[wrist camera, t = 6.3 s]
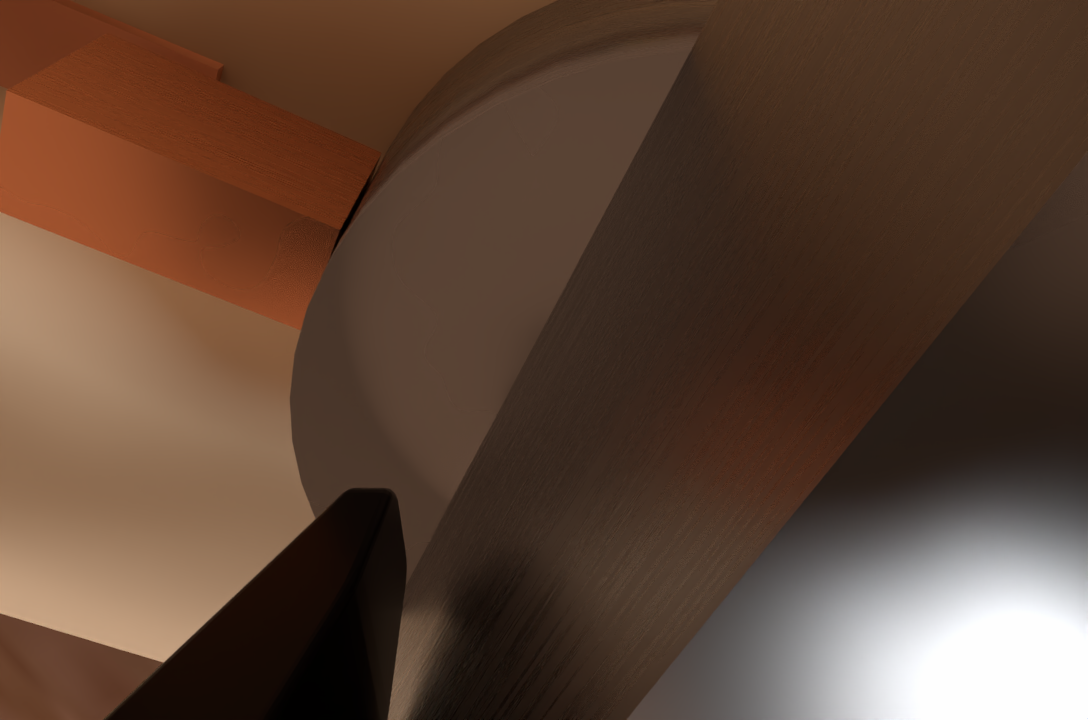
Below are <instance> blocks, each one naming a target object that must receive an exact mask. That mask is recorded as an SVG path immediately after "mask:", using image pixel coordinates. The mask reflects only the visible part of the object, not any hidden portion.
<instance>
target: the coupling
mask: <svg viewBox="0 0 1088 720" xmlns="http://www.w3.org/2000/svg"><path fill="white" fill-rule="evenodd" d="M381 154H382V152H380V151H377V150H375V149H373V148H371V147H368V146H366V145H364V144H361V143H359V142H357V141H355V140H352V139H350V138H348V137H345V136H343V135H341V134H339V133H336V132H334V131H332V130H329V129H327V128H325V127H323V126H320V125H318V124H316V123H313V122H311V121H309V120H307V119H304V118H302V117H300V116H297V115H295V114H293V113H291V112H288V111H286V110H284V109H282V108H279V107H277V106H275V105H272V104H270V103H268V102H266V101H263V100H261V99H259V98H256V97H254V96H252V95H250V94H247V93H245V92H243V91H240V90H238V89H236V88H234V87H231V86H229V85H227V84H224V83H222V82H220V81H218V80H215V79H213V78H211V77H208V76H206V75H204V74H202V73H199V72H197V71H195V70H192V69H190V68H188V67H186V66H183V65H181V64H179V63H177V62H174V61H172V60H170V59H167V58H165V57H163V56H161V55H158V54H156V53H154V52H151V51H149V50H147V49H145V48H142V47H140V46H138V45H135V44H133V43H131V42H129V41H126V40H124V39H122V38H119V37H117V36H115V35H113V34H110V33H107V34H105V35H103V36H102V37H100V38H98V39H96V40H94V41H93V42H91V43H89V44H87V45H86V46H84V47H82V48H80V49H79V50H77V51H75V52H73V53H72V54H70V55H68V56H66V57H64V58H63V59H61V60H59V61H57V62H56V63H54V64H52V65H50V66H49V67H47V68H45V69H43V70H42V71H40V72H38V73H36V74H34V75H33V76H31V77H29V78H27V79H26V80H24V81H22V82H20V83H19V84H17V85H15V86H13V87H12V88H10V89H8V90H6V97H5V104H4V111H3V119H2V126H1V133H0V212H1V213H4V214H6V215H9V216H11V217H14V218H16V219H19V220H22V221H24V222H27V223H29V224H32V225H34V226H37V227H39V228H42V229H44V230H47V231H49V232H52V233H55V234H57V235H60V236H62V237H65V238H67V239H70V240H72V241H75V242H77V243H80V244H82V245H85V246H88V247H90V248H93V249H95V250H98V251H100V252H103V253H105V254H108V255H110V256H113V257H115V258H118V259H121V260H123V261H126V262H128V263H131V264H133V265H136V266H138V267H141V268H143V269H146V270H148V271H151V272H154V273H156V274H159V275H161V276H164V277H166V278H169V279H171V280H174V281H176V282H179V283H181V284H184V285H186V286H189V287H192V288H194V289H197V290H199V291H202V292H204V293H207V294H209V295H212V296H214V297H217V298H219V299H222V300H225V301H227V302H230V303H232V304H235V305H237V306H240V307H242V308H245V309H247V310H250V311H252V312H255V313H258V314H260V315H263V316H265V317H268V318H270V319H273V320H275V321H278V322H280V323H283V324H285V325H288V326H291V327H293V328H296V329H298V330H301V332H300V335H299V339H298V343H297V346H296V350H295V354H294V363H293V372H292V382H291V391H290V412H291V429H292V443H293V447H294V452H295V456H296V461H297V465H298V470H299V475H300V479H301V483H302V486H303V488H304V491H305V493H306V496H307V499H308V501H309V504H310V506H311V509H312V512H313V514H314V517H315V519H316V518H317V517H318V516H319V515H320V514H321V513H322V512H323V511H324V510H325V509H326V508H327V507H329V506H330V505H331V504H332V503H333V502H334V501H335V500H336V499H337V498H338V497H339V496H340V495H341V494H342V493H344V492H345V491H347V490H349V489H351V488H389V489H391V490H392V491H394V492H395V494H396V496H397V499H398V503H399V510H400V517H401V523H402V530H403V537H404V543H405V550H406V558H407V576H406V586H405V594H404V601H403V609H402V616H401V624H400V631H399V639H398V647H397V654H396V662H395V669H394V677H393V684H392V692H391V699H390V707H389V714H388V720H1088V0H557V1H555V2H553V3H551V4H549V5H546V6H544V7H542V8H540V9H538V10H536V11H533V12H531V13H529V14H527V15H525V16H523V17H521V18H519V19H518V20H516V21H514V22H513V23H511V24H510V25H508V26H507V27H505V28H504V29H502V30H500V31H499V32H497V33H496V34H494V35H493V36H491V37H489V38H488V39H486V40H485V41H483V42H482V43H480V44H479V45H478V46H477V47H476V48H474V49H473V50H472V51H471V52H470V53H468V54H467V55H466V56H465V57H464V58H463V59H461V60H460V61H459V62H458V63H457V64H456V65H454V66H453V67H452V68H451V69H450V70H449V71H447V72H446V73H445V74H444V75H443V76H442V77H441V79H440V80H439V81H438V82H437V83H436V84H435V85H434V87H433V88H432V89H431V90H430V91H429V92H428V93H427V94H426V96H425V97H424V98H423V99H422V100H421V101H420V102H419V104H418V105H417V106H416V107H415V108H414V110H413V111H412V113H411V114H410V116H409V117H408V119H407V120H406V122H405V123H404V125H403V126H402V128H401V130H400V131H399V133H398V134H397V136H396V137H395V139H394V140H393V142H392V143H391V145H390V147H389V149H388V151H387V152H386V154H385V156H384V158H383V160H382V162H381V164H380V166H379V168H378V169H377V171H376V173H375V175H374V172H375V170H376V167H377V164H378V162H379V159H380V156H381ZM373 175H374V177H373ZM372 178H373V179H372ZM371 180H372V181H371Z"/></svg>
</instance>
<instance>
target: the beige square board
mask: <svg viewBox="0 0 1088 720" xmlns="http://www.w3.org/2000/svg"><path fill="white" fill-rule="evenodd" d="M555 1H557V0H0V133H1V126H2V119H3V111H4V104H5V97H6V90H8V89H10V88H12V87H13V86H15V85H17V84H19V83H20V82H22V81H24V80H26V79H27V78H29V77H31V76H33V75H34V74H36V73H38V72H40V71H42V70H43V69H45V68H47V67H49V66H50V65H52V64H54V63H56V62H57V61H59V60H61V59H63V58H64V57H66V56H68V55H70V54H72V53H73V52H75V51H77V50H79V49H80V48H82V47H84V46H86V45H87V44H89V43H91V42H93V41H94V40H96V39H98V38H100V37H102V36H103V35H105V34H107V33H110V34H113V35H115V36H117V37H119V38H122V39H124V40H126V41H129V42H131V43H133V44H135V45H138V46H140V47H142V48H145V49H147V50H149V51H151V52H154V53H156V54H158V55H161V56H163V57H165V58H167V59H170V60H172V61H174V62H177V63H179V64H181V65H183V66H186V67H188V68H190V69H192V70H195V71H197V72H199V73H202V74H204V75H206V76H208V77H211V78H213V79H215V80H218V81H220V82H222V83H224V84H227V85H229V86H231V87H234V88H236V89H238V90H240V91H243V92H245V93H247V94H250V95H252V96H254V97H256V98H259V99H261V100H263V101H266V102H268V103H270V104H272V105H275V106H277V107H279V108H282V109H284V110H286V111H288V112H291V113H293V114H295V115H297V116H300V117H302V118H304V119H307V120H309V121H311V122H313V123H316V124H318V125H320V126H323V127H325V128H327V129H329V130H332V131H334V132H336V133H339V134H341V135H343V136H345V137H348V138H350V139H352V140H355V141H357V142H359V143H361V144H364V145H366V146H368V147H371V148H373V149H375V150H377V151H380V152H382V154H381V156H380V159H379V162H378V164H377V167H376V170H375V172H374V175H375V173H376V171H377V169H378V168H379V166H380V164H381V162H382V160H383V158H384V156H385V154H386V152H387V151H388V149H389V147H390V145H391V143H392V142H393V140H394V139H395V137H396V136H397V134H398V133H399V131H400V130H401V128H402V126H403V125H404V123H405V122H406V120H407V119H408V117H409V116H410V114H411V113H412V111H413V110H414V108H415V107H416V106H417V105H418V104H419V102H420V101H421V100H422V99H423V98H424V97H425V96H426V94H427V93H428V92H429V91H430V90H431V89H432V88H433V87H434V85H435V84H436V83H437V82H438V81H439V80H440V79H441V77H442V76H443V75H444V74H445V73H446V72H447V71H449V70H450V69H451V68H452V67H453V66H454V65H456V64H457V63H458V62H459V61H460V60H461V59H463V58H464V57H465V56H466V55H467V54H468V53H470V52H471V51H472V50H473V49H474V48H476V47H477V46H478V45H479V44H480V43H482V42H483V41H485V40H486V39H488V38H489V37H491V36H493V35H494V34H496V33H497V32H499V31H500V30H502V29H504V28H505V27H507V26H508V25H510V24H511V23H513V22H514V21H516V20H518V19H519V18H521V17H523V16H525V15H527V14H529V13H531V12H533V11H536V10H538V9H540V8H542V7H544V6H546V5H549V4H551V3H553V2H555ZM374 175H373V177H374ZM372 179H373V178H372ZM371 181H372V180H371ZM300 332H301V330H298V329H296V328H293V327H291V326H288V325H285V324H283V323H280V322H278V321H275V320H273V319H270V318H268V317H265V316H263V315H260V314H258V313H255V312H252V311H250V310H247V309H245V308H242V307H240V306H237V305H235V304H232V303H230V302H227V301H225V300H222V299H219V298H217V297H214V296H212V295H209V294H207V293H204V292H202V291H199V290H197V289H194V288H192V287H189V286H186V285H184V284H181V283H179V282H176V281H174V280H171V279H169V278H166V277H164V276H161V275H159V274H156V273H154V272H151V271H148V270H146V269H143V268H141V267H138V266H136V265H133V264H131V263H128V262H126V261H123V260H121V259H118V258H115V257H113V256H110V255H108V254H105V253H103V252H100V251H98V250H95V249H93V248H90V247H88V246H85V245H82V244H80V243H77V242H75V241H72V240H70V239H67V238H65V237H62V236H60V235H57V234H55V233H52V232H49V231H47V230H44V229H42V228H39V227H37V226H34V225H32V224H29V223H27V222H24V221H22V220H19V219H16V218H14V217H11V216H9V215H6V214H4V213H1V212H0V613H1V614H4V615H7V616H11V617H14V618H17V619H21V620H24V621H27V622H31V623H34V624H37V625H41V626H44V627H47V628H51V629H54V630H57V631H61V632H64V633H67V634H70V635H74V636H77V637H80V638H84V639H87V640H90V641H94V642H97V643H100V644H104V645H107V646H110V647H114V648H117V649H120V650H124V651H127V652H130V653H134V654H137V655H140V656H143V657H147V658H150V659H153V660H157V661H160V662H163V663H164V662H165V661H166V660H167V659H168V658H169V657H170V656H171V655H172V654H173V653H174V652H175V651H176V650H177V649H178V648H179V647H180V646H182V645H183V644H184V643H185V642H186V641H187V640H188V639H189V638H190V637H191V636H192V635H193V634H194V633H195V632H196V631H197V630H198V629H200V628H201V627H202V626H203V625H204V624H205V623H206V622H207V621H208V620H209V619H210V618H211V617H212V616H213V615H214V614H215V613H216V612H218V611H219V610H220V609H221V608H222V607H223V606H224V605H225V604H226V603H227V602H228V601H229V600H230V599H231V598H232V597H233V596H234V595H235V594H237V593H238V592H239V591H240V590H241V589H242V588H243V587H244V586H245V585H246V584H247V583H248V582H249V581H250V580H251V579H252V578H253V577H255V576H256V575H257V574H258V573H259V572H260V571H261V570H262V569H263V568H264V567H265V566H266V565H267V564H268V563H269V562H270V561H271V560H273V559H274V558H275V557H276V556H277V555H278V554H279V553H280V552H281V551H282V550H283V549H284V548H285V547H286V546H287V545H288V544H289V543H290V542H292V541H293V540H294V539H295V538H296V537H297V536H298V535H299V534H300V533H301V532H302V531H303V530H304V529H305V528H306V527H307V526H308V525H310V524H311V523H312V522H313V521H314V520H315V517H314V514H313V512H312V509H311V506H310V504H309V501H308V499H307V496H306V493H305V491H304V488H303V486H302V483H301V479H300V475H299V470H298V465H297V461H296V456H295V452H294V447H293V443H292V429H291V412H290V391H291V382H292V372H293V363H294V354H295V350H296V346H297V343H298V339H299V335H300Z"/></svg>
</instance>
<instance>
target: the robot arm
mask: <svg viewBox="0 0 1088 720" xmlns="http://www.w3.org/2000/svg"><path fill="white" fill-rule="evenodd" d="M406 576H407V558H406V550H405V543H404V537H403V530H402V523H401V517H400V510H399V503H398V499H397V496H396V494H395V492H394V491H392V490H391V489H389V488H351V489H349V490H347V491H345V492H344V493H342V494H341V495H340V496H339V497H338V498H337V499H336V500H335V501H334V502H333V503H332V504H331V505H330V506H329V507H327V508H326V509H325V510H324V511H323V512H322V513H321V514H320V515H319V516H318V517H317V518H316V519H315V520H314V521H313V522H312V523H311V524H310V525H308V526H307V527H306V528H305V529H304V530H303V531H302V532H301V533H300V534H299V535H298V536H297V537H296V538H295V539H294V540H293V541H292V542H290V543H289V544H288V545H287V546H286V547H285V548H284V549H283V550H282V551H281V552H280V553H279V554H278V555H277V556H276V557H275V558H274V559H273V560H271V561H270V562H269V563H268V564H267V565H266V566H265V567H264V568H263V569H262V570H261V571H260V572H259V573H258V574H257V575H256V576H255V577H253V578H252V579H251V580H250V581H249V582H248V583H247V584H246V585H245V586H244V587H243V588H242V589H241V590H240V591H239V592H238V593H237V594H235V595H234V596H233V597H232V598H231V599H230V600H229V601H228V602H227V603H226V604H225V605H224V606H223V607H222V608H221V609H220V610H219V611H218V612H216V613H215V614H214V615H213V616H212V617H211V618H210V619H209V620H208V621H207V622H206V623H205V624H204V625H203V626H202V627H201V628H200V629H198V630H197V631H196V632H195V633H194V634H193V635H192V636H191V637H190V638H189V639H188V640H187V641H186V642H185V643H184V644H183V645H182V646H180V647H179V648H178V649H177V650H176V651H175V652H174V653H173V654H172V655H171V656H170V657H169V658H168V659H167V660H166V661H165V662H164V663H163V664H161V665H160V666H159V667H158V668H157V669H156V670H155V671H154V672H153V673H152V674H151V675H150V676H149V677H148V678H147V679H146V680H145V681H143V682H142V683H141V684H140V685H139V686H138V687H137V688H136V689H135V690H134V691H133V692H132V693H131V694H130V695H129V696H128V697H127V698H126V699H124V700H123V701H122V702H121V703H120V704H119V705H118V706H117V707H116V708H115V709H114V710H113V711H112V712H111V713H110V714H109V715H108V716H106V717H105V718H104V719H103V720H388V714H389V707H390V699H391V692H392V684H393V677H394V669H395V662H396V654H397V647H398V639H399V631H400V624H401V616H402V609H403V601H404V594H405V586H406Z"/></svg>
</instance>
